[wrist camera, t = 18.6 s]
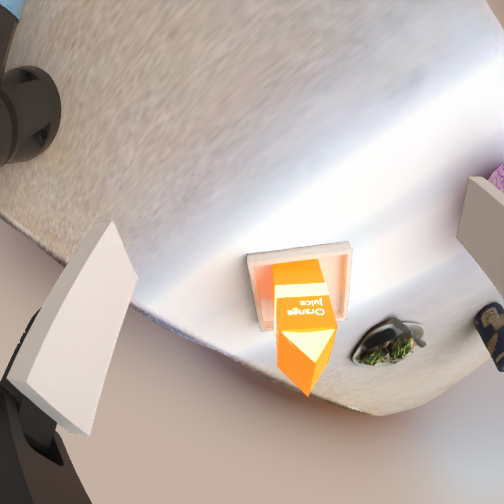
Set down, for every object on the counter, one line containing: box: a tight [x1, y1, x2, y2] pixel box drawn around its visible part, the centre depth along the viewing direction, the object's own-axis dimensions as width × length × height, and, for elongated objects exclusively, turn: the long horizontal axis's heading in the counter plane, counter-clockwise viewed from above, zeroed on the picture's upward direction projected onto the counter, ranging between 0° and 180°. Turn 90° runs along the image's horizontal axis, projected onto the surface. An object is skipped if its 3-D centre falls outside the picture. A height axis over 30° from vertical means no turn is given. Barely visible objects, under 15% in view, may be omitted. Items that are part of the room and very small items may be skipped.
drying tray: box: [247, 241, 353, 332], centre depth 53 cm, size 17×17×2 cm
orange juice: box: [272, 259, 337, 396], centre depth 45 cm, size 8×9×20 cm
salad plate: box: [351, 318, 426, 366], centre depth 64 cm, size 19×18×5 cm
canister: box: [475, 303, 504, 372], centre depth 56 cm, size 10×10×18 cm
